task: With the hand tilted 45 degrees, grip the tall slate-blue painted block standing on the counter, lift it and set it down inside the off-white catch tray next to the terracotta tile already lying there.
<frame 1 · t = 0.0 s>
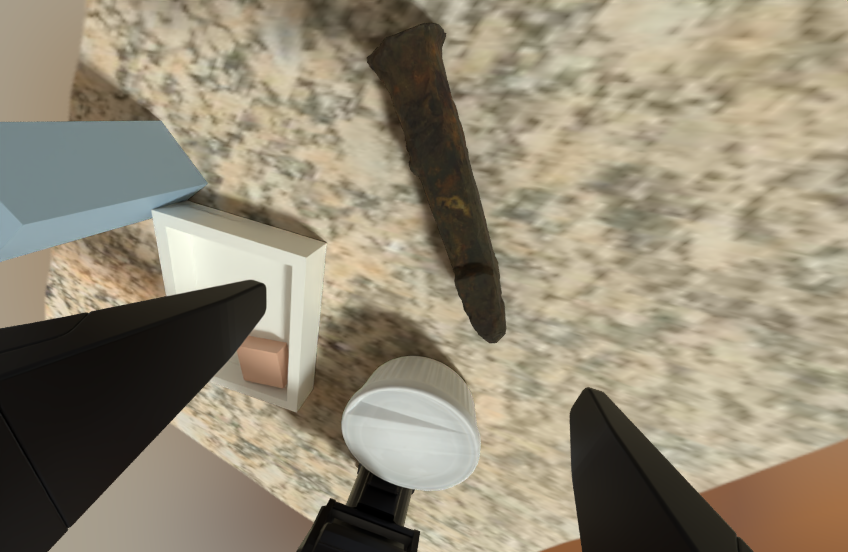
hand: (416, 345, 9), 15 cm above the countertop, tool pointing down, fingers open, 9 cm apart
ramekin: (422, 392, 30), on the countertop
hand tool: (469, 199, 22), on the countertop
terracotta tile: (270, 356, 30), point 1 cm above the countertop, touching catch tray
catch tray: (256, 304, 29), on the countertop
blue block: (166, 169, 25), on the countertop
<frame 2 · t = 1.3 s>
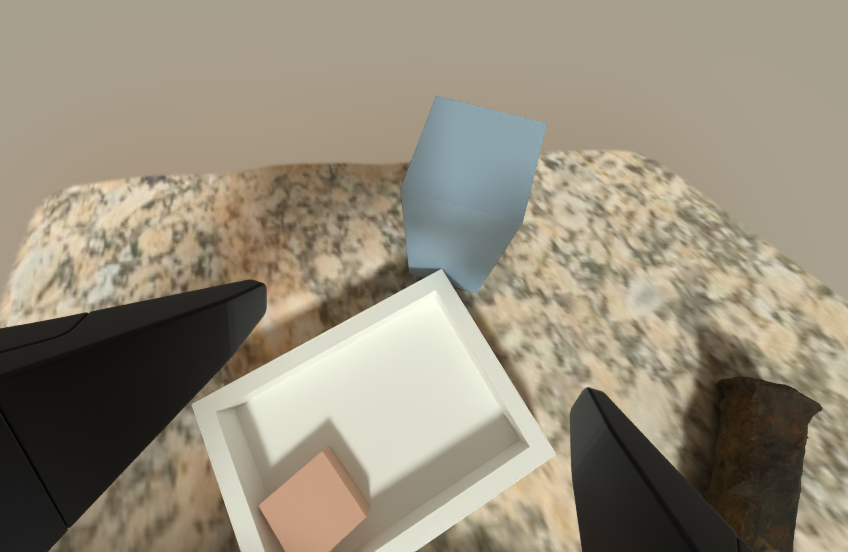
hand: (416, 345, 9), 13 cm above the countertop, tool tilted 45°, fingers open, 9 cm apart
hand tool: (714, 542, 19), on the countertop
terracotta tile: (320, 501, 18), point 1 cm above the countertop, touching catch tray
catch tray: (377, 422, 21), on the countertop
blue block: (452, 252, 24), on the countertop
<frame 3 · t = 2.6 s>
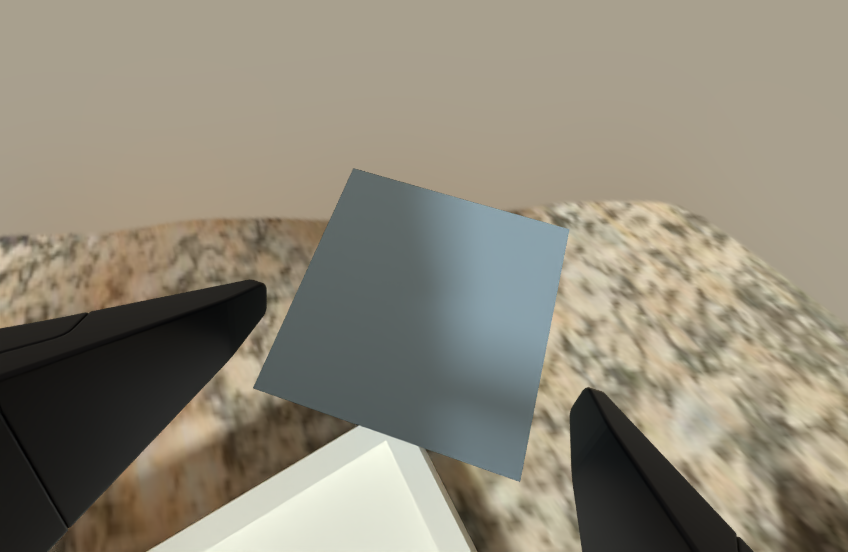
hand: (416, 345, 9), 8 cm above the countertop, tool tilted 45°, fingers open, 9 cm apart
blue block: (421, 352, 17), on the countertop
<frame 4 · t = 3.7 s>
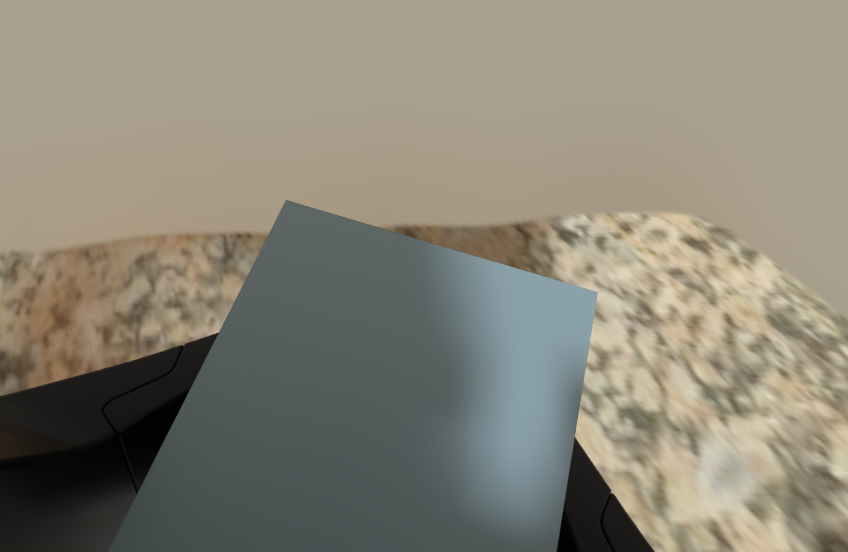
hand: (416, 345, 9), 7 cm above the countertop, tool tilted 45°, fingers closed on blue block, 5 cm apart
blue block: (408, 389, 15), on the countertop, touching gripper
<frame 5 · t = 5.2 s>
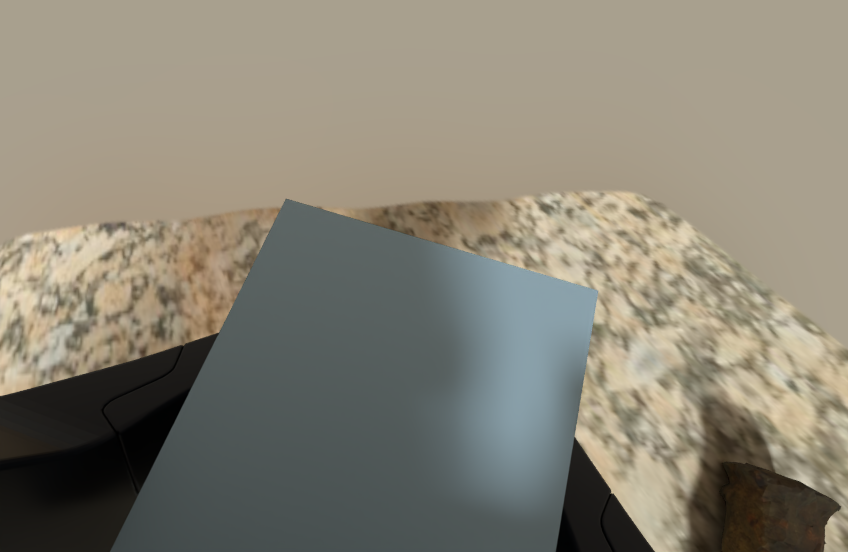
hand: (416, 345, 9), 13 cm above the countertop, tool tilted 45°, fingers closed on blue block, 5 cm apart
blue block: (409, 386, 15), point 6 cm above the countertop, touching gripper
when the fingers open (8 cm above the countertop, at t = 7.0 s): blue block stays where it is, resting on catch tray.
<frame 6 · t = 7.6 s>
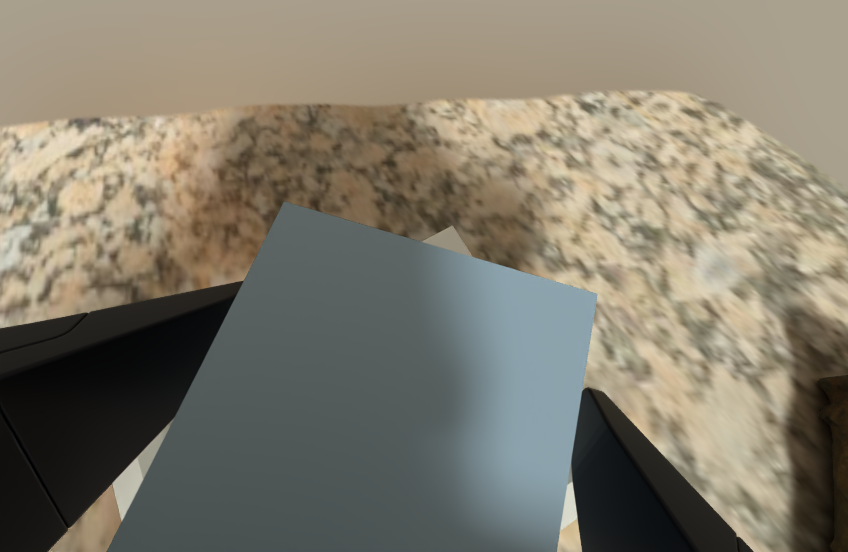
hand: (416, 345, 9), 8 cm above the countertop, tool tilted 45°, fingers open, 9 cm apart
catch tray: (364, 434, 15), on the countertop
blue block: (408, 390, 15), point 1 cm above the countertop, touching catch tray
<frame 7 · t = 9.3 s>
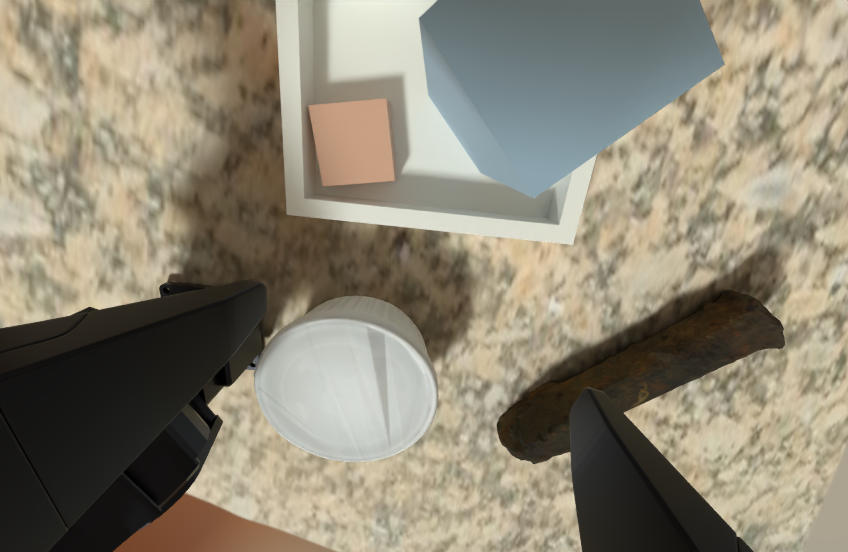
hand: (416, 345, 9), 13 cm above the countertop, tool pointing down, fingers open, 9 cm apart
ramekin: (364, 347, 25), on the countertop
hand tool: (606, 368, 25), on the countertop
terracotta tile: (359, 144, 19), point 1 cm above the countertop, touching catch tray
catch tray: (441, 116, 19), on the countertop
blue block: (493, 105, 18), point 1 cm above the countertop, touching catch tray
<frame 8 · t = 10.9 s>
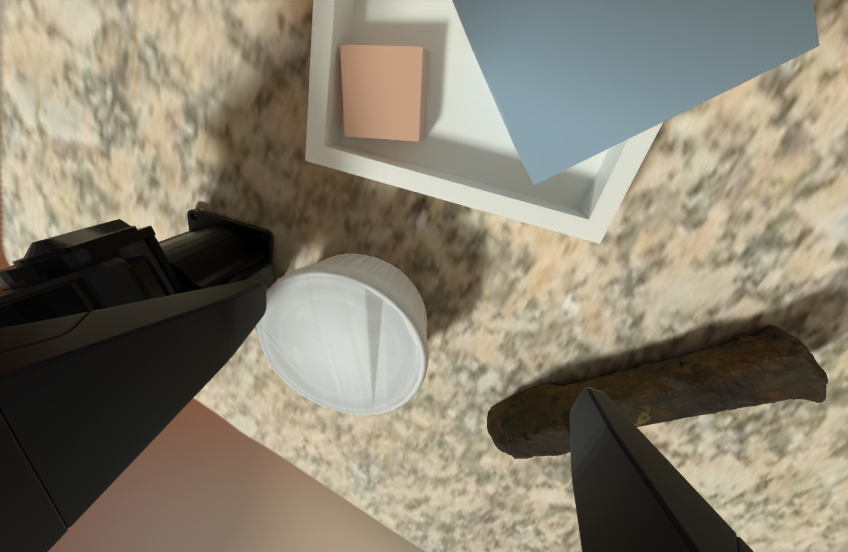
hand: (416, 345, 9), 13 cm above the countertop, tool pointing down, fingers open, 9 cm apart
ramekin: (368, 307, 25), on the countertop
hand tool: (613, 381, 24), on the countertop
terracotta tile: (389, 96, 17), point 1 cm above the countertop, touching catch tray
catch tray: (484, 76, 17), on the countertop
blue block: (543, 70, 16), point 1 cm above the countertop, touching catch tray
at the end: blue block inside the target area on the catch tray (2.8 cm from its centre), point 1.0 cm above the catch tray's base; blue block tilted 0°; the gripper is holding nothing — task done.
